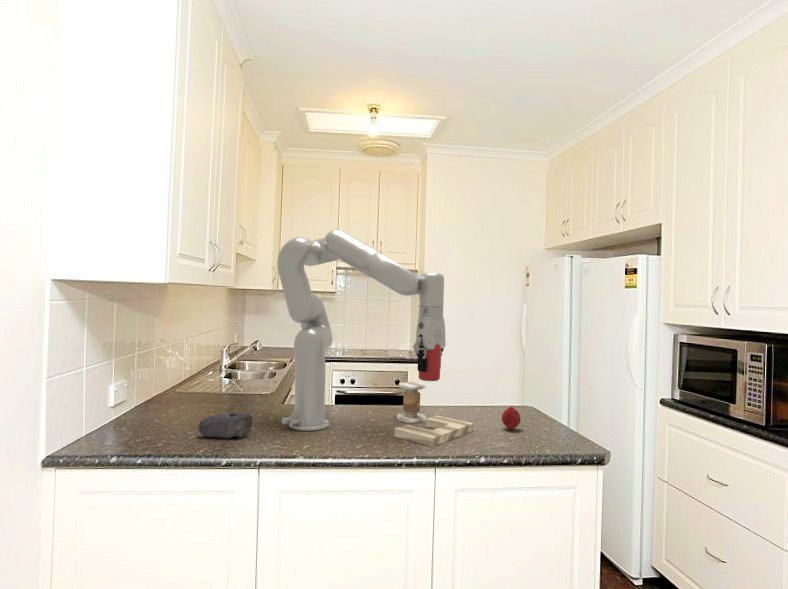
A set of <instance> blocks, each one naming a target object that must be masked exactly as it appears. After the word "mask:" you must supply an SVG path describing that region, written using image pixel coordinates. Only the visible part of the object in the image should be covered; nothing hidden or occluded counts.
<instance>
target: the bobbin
mask: <svg viewBox="0 0 788 589" xmlns="http://www.w3.org/2000/svg"><path fill="white" fill-rule="evenodd" d="M398 387H399V388H400V389H404V390H406V391H404V392H403V409H402V410H403V412H401V413H397V415H396V419H397V421H399V422H401V423H402V422H403V423H409V424H420V423H423V422H426V419H427V416H426V414H424V413H423V414H422V413H419V412H420V411H421V392H420V391H419V390H424V389H425V388H426V383H424V382H419V381H418V382H417V381H404V382H403V381H402V382H399V383H398Z"/></svg>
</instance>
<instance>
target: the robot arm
mask: <svg viewBox="0 0 788 589" xmlns="http://www.w3.org/2000/svg"><path fill="white" fill-rule="evenodd" d="M336 261H341V262H343V263H344V264H347V265H348V266H350V267H351V268H353V269H355V270H356V271H358V272H359V273H361V274H364V275H365V276H367V277H369V278H372V279H373V280H375V281H377V282H378V283H380V284H382V285H383V286H385V287H387V288H389V289H390V290H392V291H394V292H395V293H396V294H397V293H398V294H399V295H402V296H407V297H409V296H410V297H411V296H418V297H419V300H418V303H419V304H418V320H417V323H416V324H417V325H416V326H417V327H416V331H415V332H416V333H415V334H416V335H415V343H414V344H413V345H412V348H413V350H414V353H415V355H416V358H417V371H418V372H419V371H422V372H427V359H426V356H427V353H428V350H433V349H434V347H435V345H436V344H439V345H440V347H441V357H442V356H443V352H444V349H445V347H446V323H445V318H444V297H445V296H444V294H445V293H444V292H445V277H444V274H442V273H439V272H422V273H417V272H416V273H415V272H413V271H411V270H409V269H407V268H405V267H404V266H402V265H400V264H398V263H397V262H395V261H394V260H391V259H390V258H388V257H386V256H385V255H383V254H382V253H381V252H380V251H379V250H377V249H375V247H374V248H373V247H372V246H370V245H368V244H367V243H365V242H363V241H361V240H360V239H359V238H356V237H354V236H353V235H351V234H349V233H348V232H346V231H344V230H341V229H333V230H330V231H329V232H327V233H326V235H325V237H323V238H318V239H313V240H311V239H309V238H307V237H303V236H302V237H300V236H298V237H294V238H293V237H292V238H291V239H290V240H287V242H285V244H284V245H283V246H282V247H281V249H280V250H279V253H278V255H277V262H276V263H277V271H278V275H279V280H280V283H281V286H282V291H283V296H284V299H285V302H286V307H287V310H288V314H289V317H290V319H291V320H292V321H293V322H295V323H297V324H300V327H301V330H300V331H298V333H297V334H296V336H295V338H294V341H293V342H294V343H293V352H294V361H295V362H294V363H295V364H294V365H295V366H294V373H295V374H294V375H295V376H294V378H295V379H294V411H292V412H291V415H289V416H288V417H287V416H286V417H282V419H281V424H282V425H288V426H289V428H290V429H293V430H294V431H295V430H296V431H304V432H305V431H306V432H307V431H308V432H309V431H311V432H312V431H320V430H324V429H326V428H328V427H329V426H330V420H328V419H326V418H325V413H326V412H325V410H326V409H325V408H326V407H325V406H326V405H325V404H326V371H327V370H326V367H327V365H326V355H325V352H326V351H328V350H329V349H330V348H331V346H332V344H333V334H332V333H333V332H332V329H331V325H330V322H329V319H328V315H327V314H328V313H327V311H326V308H325V305H324V303H323V301H322V299H320V297H319V296H318V295H315V294H313V292H312V289H311V286H310V282H309V278H308V276H307V273H306V271H305V270H306V269H305V266H308V267H313V266H319V265H322V264H326V263H331V262H336ZM437 342H438V343H437ZM422 346H424V347H425V348H422ZM422 351H424V353H423V352H422ZM441 366H442V358H441V359H440V370H441Z"/></svg>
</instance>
